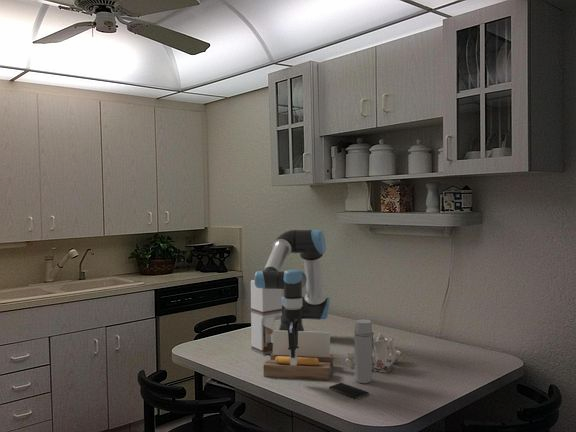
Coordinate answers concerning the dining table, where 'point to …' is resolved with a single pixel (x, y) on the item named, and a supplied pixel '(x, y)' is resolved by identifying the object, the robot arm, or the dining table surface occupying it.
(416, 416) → the dining table surface
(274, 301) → the wood-lined white cubby
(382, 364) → the chinaware
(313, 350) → the duct cover
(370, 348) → the water bottle
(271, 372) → the wooden tray
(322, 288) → the robot arm
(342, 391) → the phone
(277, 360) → the orange rod
